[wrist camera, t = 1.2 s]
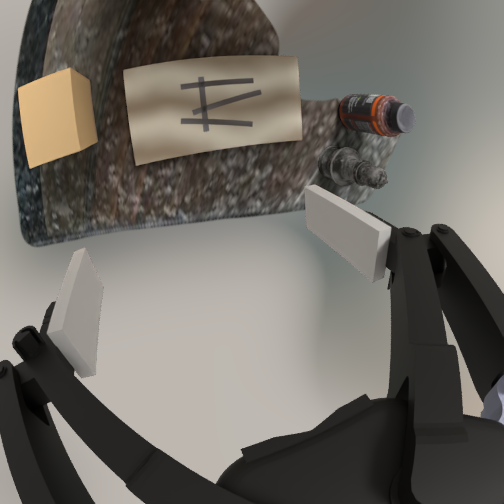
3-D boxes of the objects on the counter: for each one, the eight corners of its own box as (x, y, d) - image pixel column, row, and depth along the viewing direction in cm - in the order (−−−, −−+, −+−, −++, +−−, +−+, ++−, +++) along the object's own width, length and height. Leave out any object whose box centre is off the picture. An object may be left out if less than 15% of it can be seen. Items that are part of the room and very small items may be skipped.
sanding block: (49, 94, 23) (18, 88, 15) (90, 80, 25) (70, 67, 16) (58, 154, 27) (29, 168, 19) (98, 141, 29) (80, 150, 20)
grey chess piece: (351, 169, 43) (405, 191, 33) (323, 186, 43) (376, 213, 33) (340, 137, 40) (398, 151, 30) (311, 153, 39) (366, 172, 30)
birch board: (123, 71, 26) (123, 70, 25) (293, 57, 32) (297, 56, 31) (136, 164, 32) (136, 165, 31) (298, 139, 38) (302, 139, 37)
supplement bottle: (362, 134, 41) (415, 146, 31) (334, 124, 38) (388, 134, 29) (368, 100, 38) (423, 106, 29) (341, 88, 36) (396, 89, 27)
